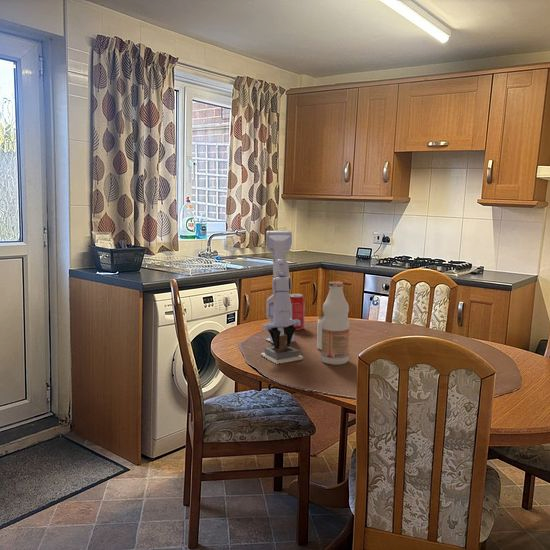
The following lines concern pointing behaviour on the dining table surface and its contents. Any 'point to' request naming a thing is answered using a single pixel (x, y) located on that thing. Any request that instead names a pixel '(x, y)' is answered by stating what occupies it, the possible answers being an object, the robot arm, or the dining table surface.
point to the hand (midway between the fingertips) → (281, 347)
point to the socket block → (282, 355)
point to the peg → (282, 343)
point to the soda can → (297, 309)
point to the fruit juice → (335, 326)
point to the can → (319, 333)
